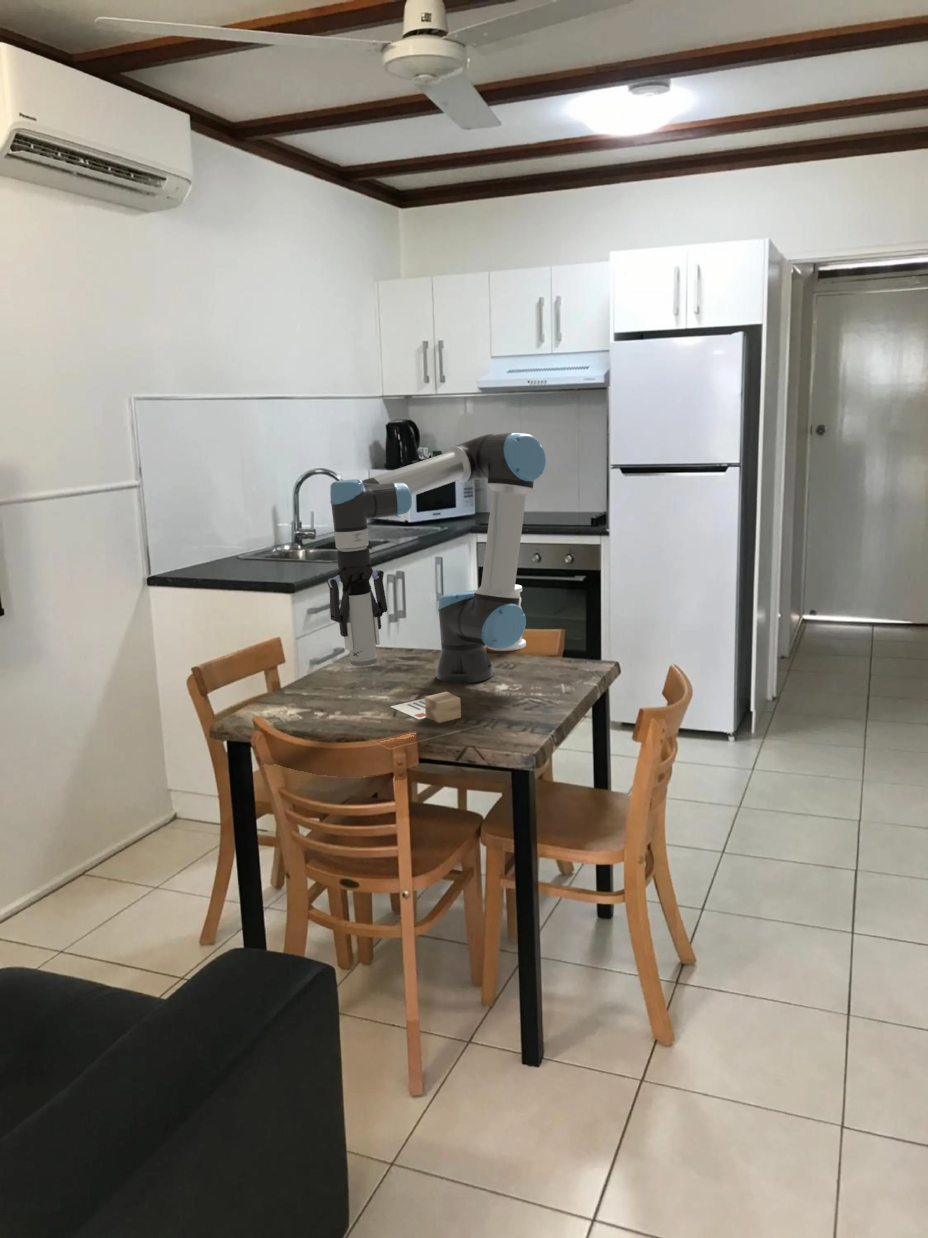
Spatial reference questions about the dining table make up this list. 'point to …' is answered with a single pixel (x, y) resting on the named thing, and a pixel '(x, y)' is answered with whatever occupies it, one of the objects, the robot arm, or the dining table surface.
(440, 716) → the oak block
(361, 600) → the travel mug
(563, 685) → the dining table surface
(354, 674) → the dining table surface
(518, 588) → the decorative container
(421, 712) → the letter
